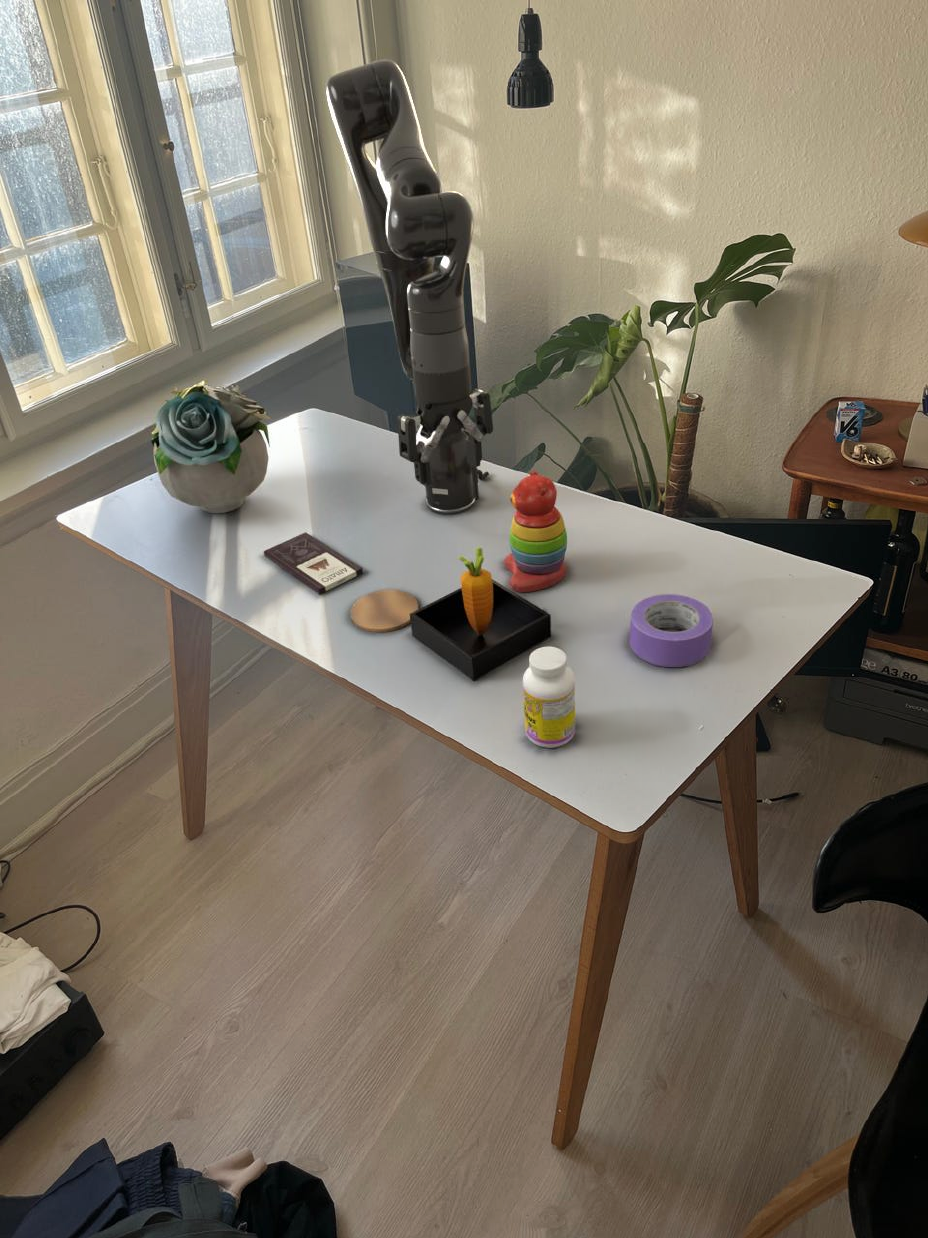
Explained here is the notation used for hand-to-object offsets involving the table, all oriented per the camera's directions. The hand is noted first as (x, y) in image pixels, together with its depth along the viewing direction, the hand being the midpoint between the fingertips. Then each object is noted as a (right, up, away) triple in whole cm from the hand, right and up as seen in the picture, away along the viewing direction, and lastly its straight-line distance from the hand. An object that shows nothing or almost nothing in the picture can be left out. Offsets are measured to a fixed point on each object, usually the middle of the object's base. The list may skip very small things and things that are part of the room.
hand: (450, 474), depth 128 cm
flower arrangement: (-46, +3, +55) cm, 71 cm away
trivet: (-11, -19, +20) cm, 29 cm away
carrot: (+5, -23, +12) cm, 26 cm away
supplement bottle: (+13, -36, -6) cm, 39 cm away
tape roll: (+32, -24, +8) cm, 41 cm away
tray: (+5, -23, +12) cm, 26 cm away
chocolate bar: (-25, -11, +33) cm, 43 cm away
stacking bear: (+14, -13, +26) cm, 32 cm away
